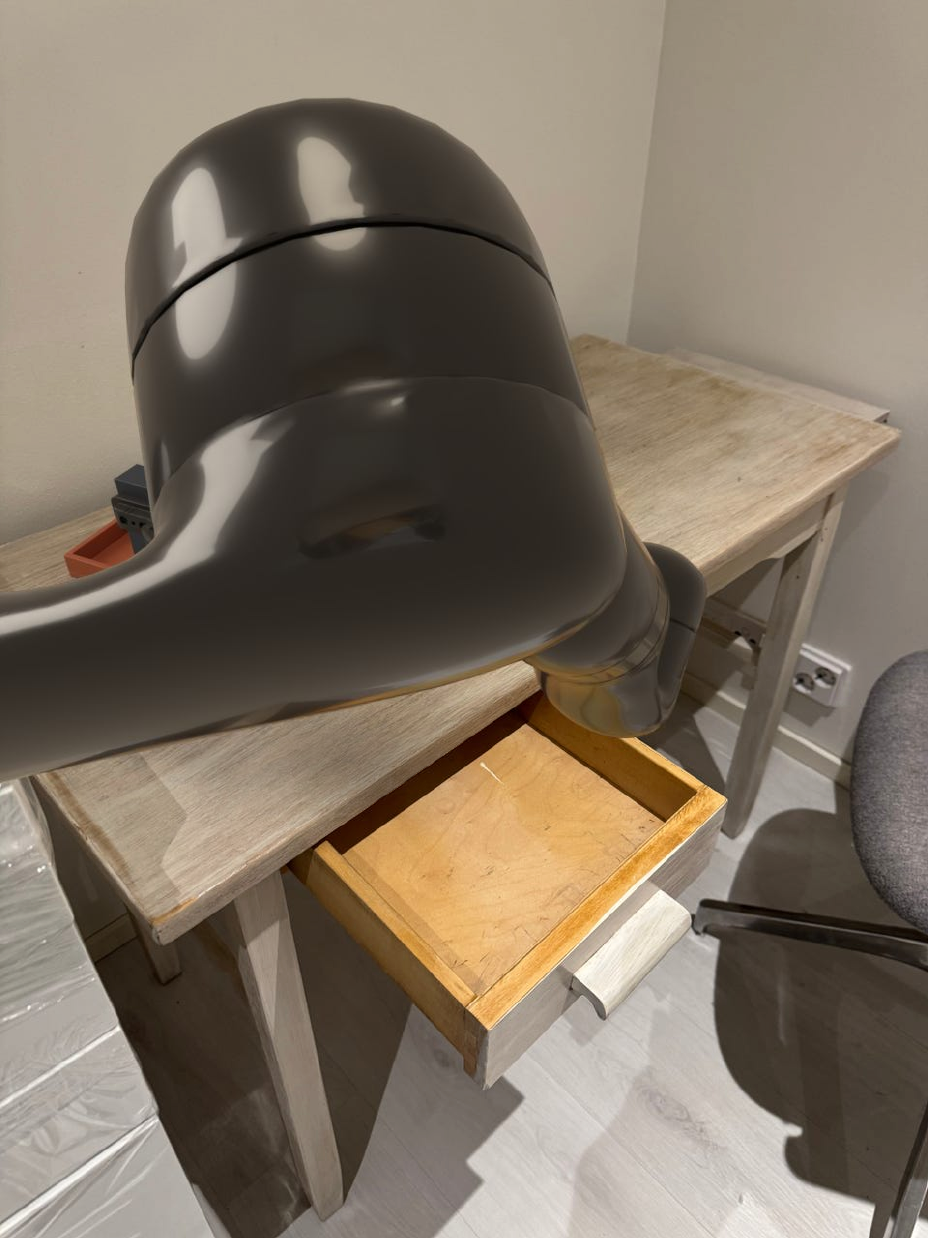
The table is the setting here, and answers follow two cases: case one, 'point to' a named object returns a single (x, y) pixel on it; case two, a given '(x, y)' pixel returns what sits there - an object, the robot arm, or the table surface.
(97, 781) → the table surface
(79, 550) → the tray
